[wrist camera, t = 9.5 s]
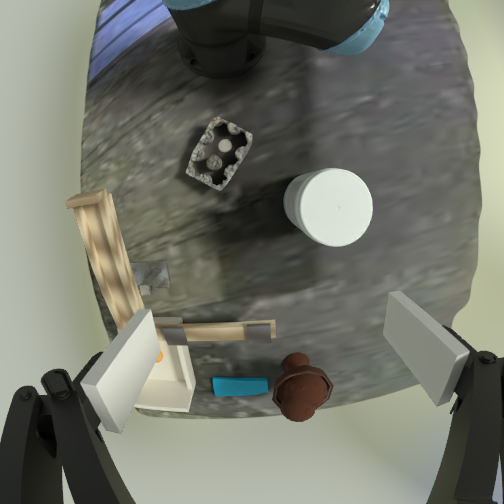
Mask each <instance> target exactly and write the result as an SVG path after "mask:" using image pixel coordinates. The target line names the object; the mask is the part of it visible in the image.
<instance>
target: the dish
mask: <svg viewBox="0 0 504 504" xmlns="http://www.w3.org/2000/svg"><path fill="white" fill-rule="evenodd" d="M153 321H154V324H183V322H182V317H153ZM117 331H118V334H119V329H118V328H117ZM159 345H160V349H161V351H162V353H163V359H162V360H161V361H160V362H158V363H155V364H154V366H153V368H152V370H151V372H150V374H149V376H148V378H147V380H146V382H145V384H144V386H143V388H142V391H141V393H140V395H139V397H138V399H137V401H136V403H135V405H134V407H138V408H146V409H155V410H165V411H178V412H188V411H189V408H190V404H191V400H192V396H193V392H194V388H195V384H196V381H195V377H194V373H193V369H192V364H191V360H190V355H189V351H188V346H175V345H167V342H166V341H159Z"/></svg>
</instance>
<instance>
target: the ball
mask: <svg viewBox="0 0 504 504" xmlns="http://www.w3.org/2000/svg"><path fill="white" fill-rule="evenodd" d="M162 359H163V353H162V351H161V352H160V354H159V356H158V358H157V360H156V362H155V363H158V362H160V361H161V360H162Z"/></svg>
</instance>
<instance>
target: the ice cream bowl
mask: <svg viewBox="0 0 504 504" xmlns="http://www.w3.org/2000/svg"><path fill="white" fill-rule="evenodd" d="M308 365H309V359H308V357H307V356H306V355H305V354H302V353H294V354H290V355H289V356H288V357H287V358H286V359H284V363H283V367H284V368H285V370H286V372H285V373H283V374H282V375H281V376H280V377H279V378H278V379H277V380H276V382H275V387H274V393H273V399H272V400H273V401H274V403H275V404H276V405H277V406H278V407H279V408H280V410H281V412H282V414H283V415H284V416H285V417H286V418H287V419H289V420H291V421H295V422H303V421H305V420H308V419H309V418H311V417H312V416H313V415H314V413H315V412H314V411H315V409H317V408H318V407H319V406H321V405H322V404H323V403H325V402H326V401H327V400H328V399H329V398H330V395H331V392H332V389H333V384H332V383H331V381H330V380H329V378H328V377H327V375H326V374H325V372H324V371H323V370H321V369H320V368H316V367H312V366H308Z"/></svg>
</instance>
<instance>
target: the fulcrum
mask: <svg viewBox="0 0 504 504" xmlns="http://www.w3.org/2000/svg"><path fill="white" fill-rule="evenodd" d="M129 263H130V266H131V269H132V272H133V275H134V278H135V281H136V284H137V287H138V290H139V291H140V292H141V295H151V294H152V292H153V291H154V290H155V289H156V288H170V287H171V283H170V277H169V271H168V264H167V260H160V261H145V262H129ZM101 293H102V291H101ZM102 296H103V294H102Z"/></svg>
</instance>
